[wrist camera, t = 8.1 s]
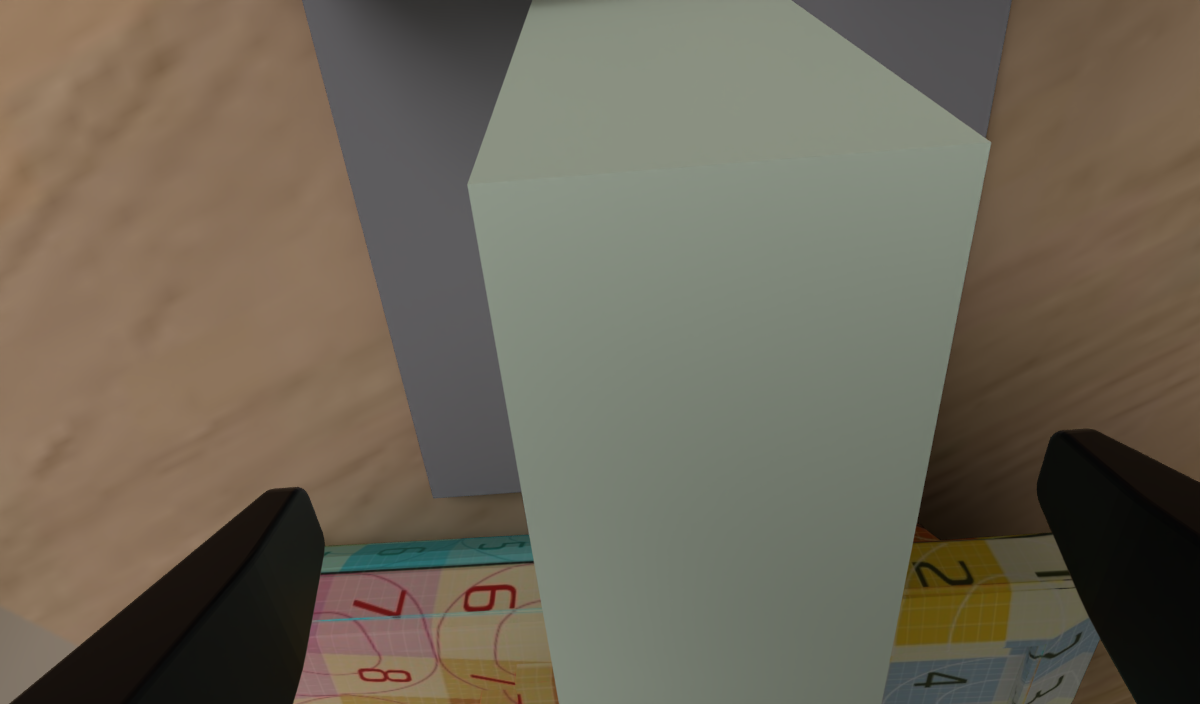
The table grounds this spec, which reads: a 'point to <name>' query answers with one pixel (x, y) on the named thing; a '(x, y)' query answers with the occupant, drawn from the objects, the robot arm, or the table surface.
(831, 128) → the board
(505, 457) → the mat
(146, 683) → the robot arm
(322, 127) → the table surface
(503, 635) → the puzzle game
